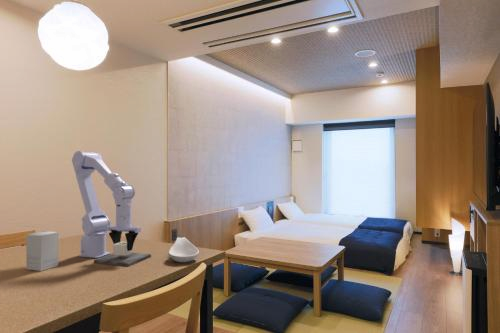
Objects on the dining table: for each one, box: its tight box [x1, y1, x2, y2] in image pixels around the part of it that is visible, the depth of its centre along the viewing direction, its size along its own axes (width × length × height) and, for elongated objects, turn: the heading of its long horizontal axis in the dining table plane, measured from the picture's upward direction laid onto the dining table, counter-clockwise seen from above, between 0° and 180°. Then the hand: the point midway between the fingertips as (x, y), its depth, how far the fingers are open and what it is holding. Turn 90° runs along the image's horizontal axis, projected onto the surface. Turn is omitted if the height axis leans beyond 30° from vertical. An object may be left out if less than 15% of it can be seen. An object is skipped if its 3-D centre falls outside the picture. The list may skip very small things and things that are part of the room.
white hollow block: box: [112, 241, 134, 256], centre depth 132 cm, size 5×5×4 cm
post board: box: [93, 243, 152, 267], centre depth 132 cm, size 16×14×6 cm
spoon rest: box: [168, 236, 200, 263], centre depth 136 cm, size 24×12×7 cm, turn 19°
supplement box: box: [25, 230, 59, 272], centre depth 121 cm, size 7×7×13 cm
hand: (123, 249), depth 132 cm, fingers closed on white hollow block, 5 cm apart
